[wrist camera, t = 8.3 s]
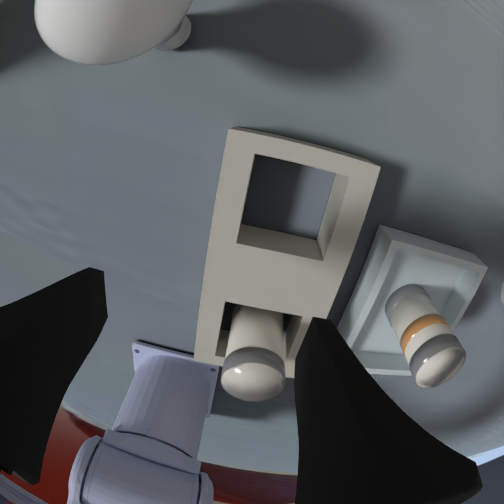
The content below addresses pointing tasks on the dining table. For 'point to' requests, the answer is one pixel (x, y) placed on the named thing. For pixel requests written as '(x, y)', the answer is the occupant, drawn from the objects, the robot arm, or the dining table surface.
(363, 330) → the parts tray
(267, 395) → the cylinder
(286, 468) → the dining table surface
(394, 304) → the fuse
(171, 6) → the lightbulb
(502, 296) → the wrench
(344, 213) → the fuse block
